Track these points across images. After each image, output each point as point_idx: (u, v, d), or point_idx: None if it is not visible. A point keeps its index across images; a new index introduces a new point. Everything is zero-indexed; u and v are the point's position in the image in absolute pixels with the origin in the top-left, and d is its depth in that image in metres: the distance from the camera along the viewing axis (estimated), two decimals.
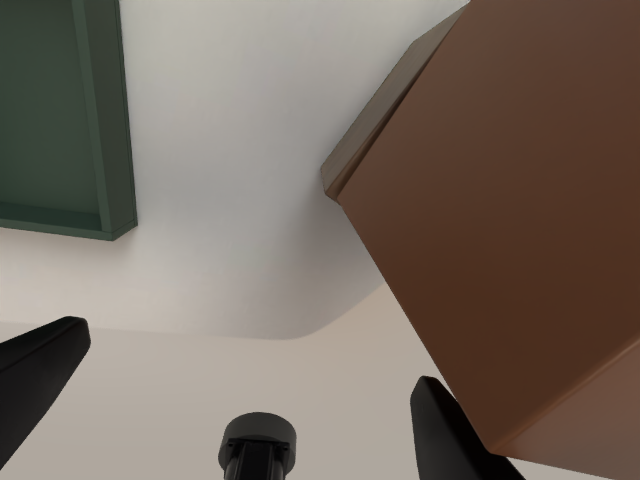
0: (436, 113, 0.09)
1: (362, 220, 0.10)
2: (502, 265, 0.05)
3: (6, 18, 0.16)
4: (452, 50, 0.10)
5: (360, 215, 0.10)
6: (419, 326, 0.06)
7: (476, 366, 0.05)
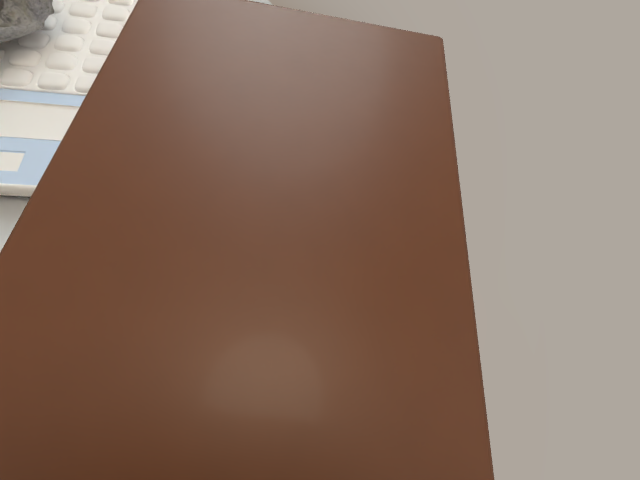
0: None
1: None
2: None
3: None
4: None
5: None
6: None
7: None
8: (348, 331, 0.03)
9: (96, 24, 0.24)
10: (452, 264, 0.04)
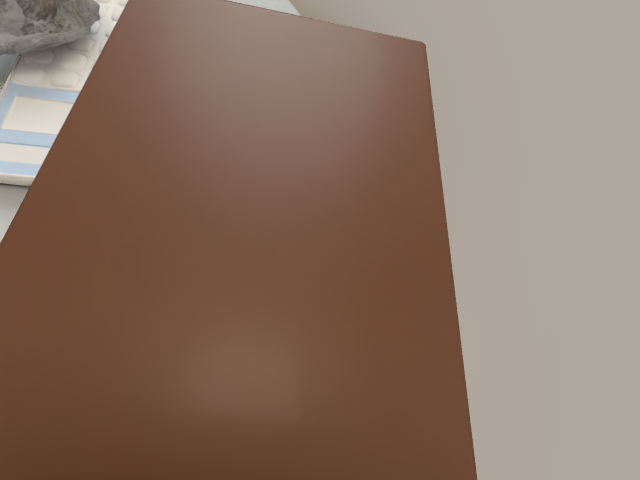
0: None
1: None
2: None
3: None
4: None
5: None
6: None
7: None
8: (339, 320, 0.04)
9: None
10: (435, 256, 0.04)
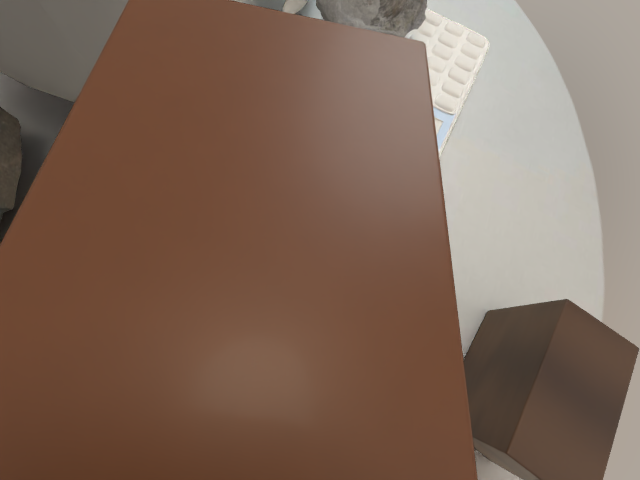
0: None
1: None
2: None
3: None
4: None
5: None
6: None
7: None
8: (340, 319, 0.04)
9: (433, 44, 0.30)
10: (436, 255, 0.04)
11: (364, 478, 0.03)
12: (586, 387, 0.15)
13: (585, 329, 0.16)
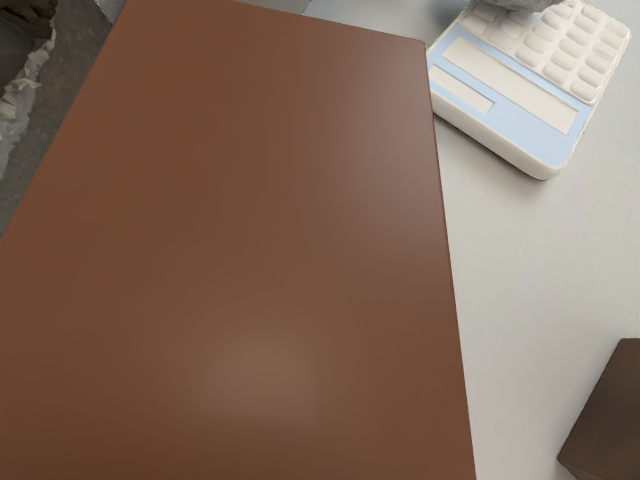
0: None
1: None
2: None
3: None
4: None
5: None
6: None
7: None
8: (338, 317, 0.04)
9: (568, 26, 0.26)
10: (435, 255, 0.04)
11: (362, 478, 0.03)
12: None
13: None
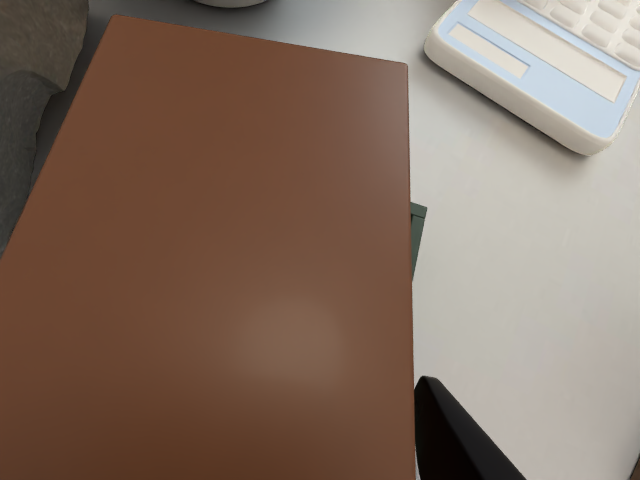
0: None
1: None
2: None
3: None
4: None
5: None
6: None
7: None
8: (294, 373, 0.04)
9: None
10: (397, 305, 0.04)
11: None
12: None
13: None
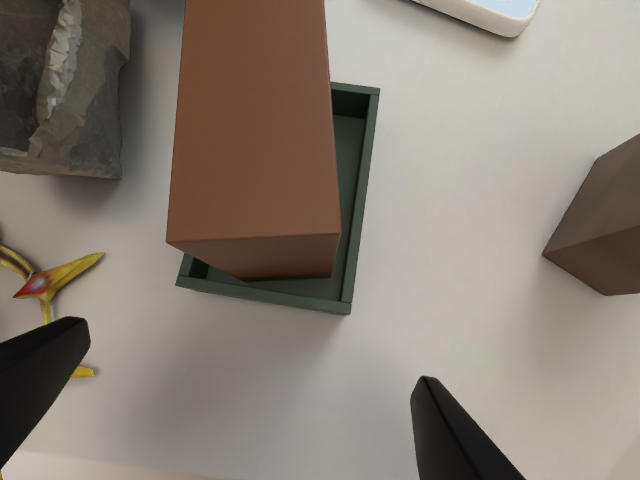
0: None
1: None
2: None
3: None
4: None
5: None
6: None
7: None
8: (286, 91, 0.11)
9: None
10: (322, 67, 0.11)
11: (296, 128, 0.10)
12: None
13: None
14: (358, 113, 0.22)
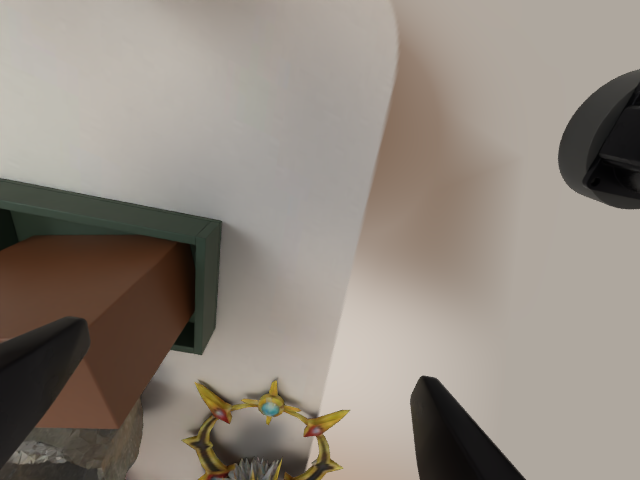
0: None
1: None
2: None
3: None
4: None
5: None
6: None
7: None
8: None
9: None
10: None
11: None
12: None
13: None
14: None
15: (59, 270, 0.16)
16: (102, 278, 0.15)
